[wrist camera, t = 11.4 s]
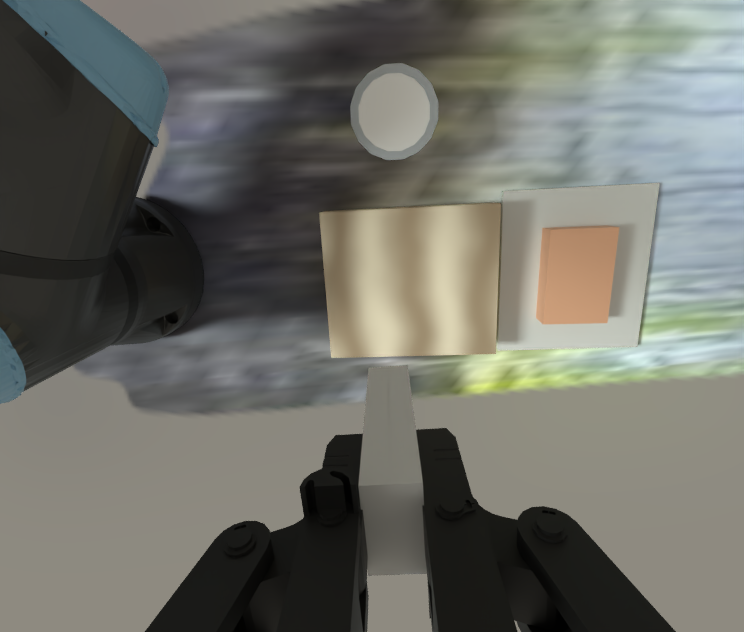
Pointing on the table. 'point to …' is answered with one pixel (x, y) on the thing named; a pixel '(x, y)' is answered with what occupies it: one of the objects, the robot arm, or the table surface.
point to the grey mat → (522, 261)
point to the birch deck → (412, 279)
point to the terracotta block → (576, 274)
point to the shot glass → (394, 111)
